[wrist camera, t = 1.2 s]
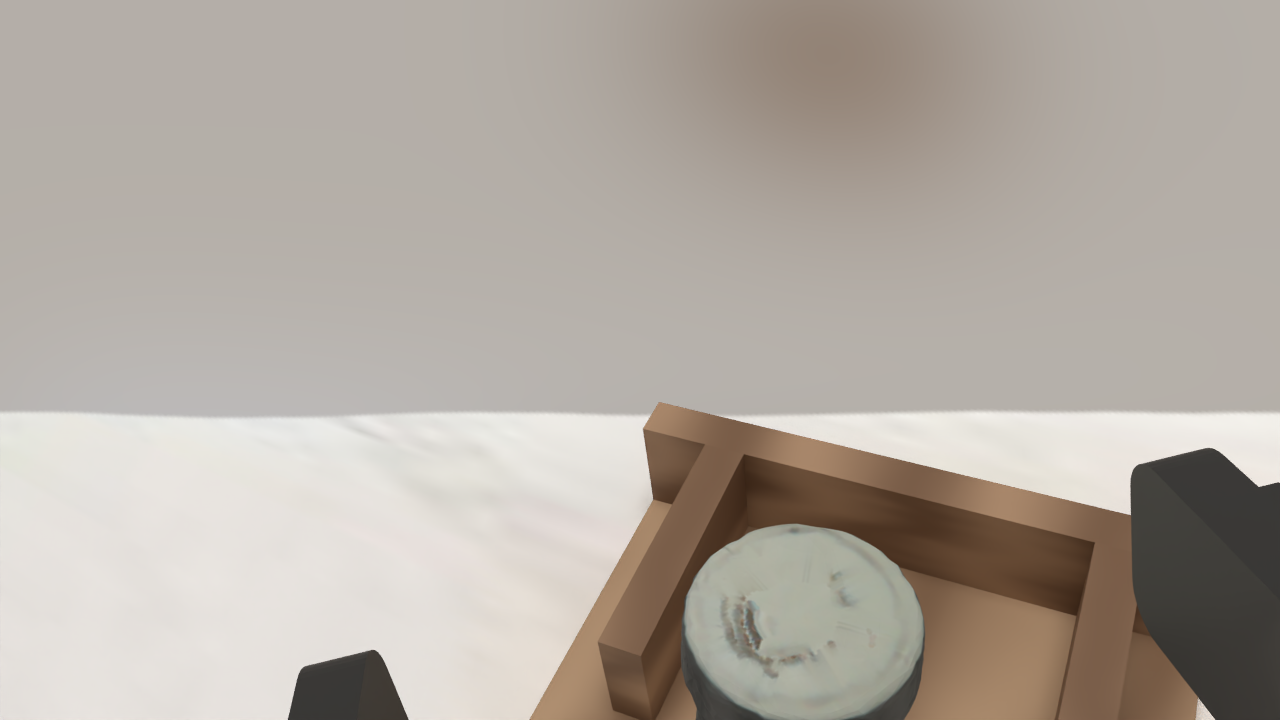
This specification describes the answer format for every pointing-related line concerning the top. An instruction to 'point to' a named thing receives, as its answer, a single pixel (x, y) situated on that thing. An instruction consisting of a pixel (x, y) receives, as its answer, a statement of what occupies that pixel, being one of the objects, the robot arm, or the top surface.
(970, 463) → the top surface
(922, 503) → the rack
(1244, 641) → the robot arm
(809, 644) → the sauce bottle
